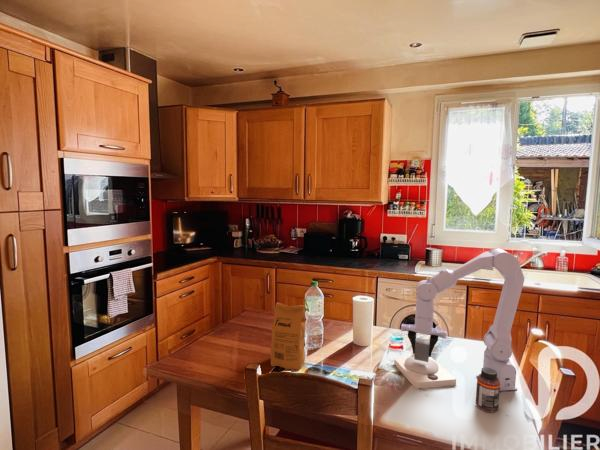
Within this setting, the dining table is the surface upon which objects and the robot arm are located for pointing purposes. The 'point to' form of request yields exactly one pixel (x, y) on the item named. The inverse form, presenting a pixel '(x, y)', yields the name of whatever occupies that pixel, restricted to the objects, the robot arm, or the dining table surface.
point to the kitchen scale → (424, 373)
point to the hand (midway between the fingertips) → (422, 354)
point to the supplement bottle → (488, 390)
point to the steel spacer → (422, 349)
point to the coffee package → (288, 337)
